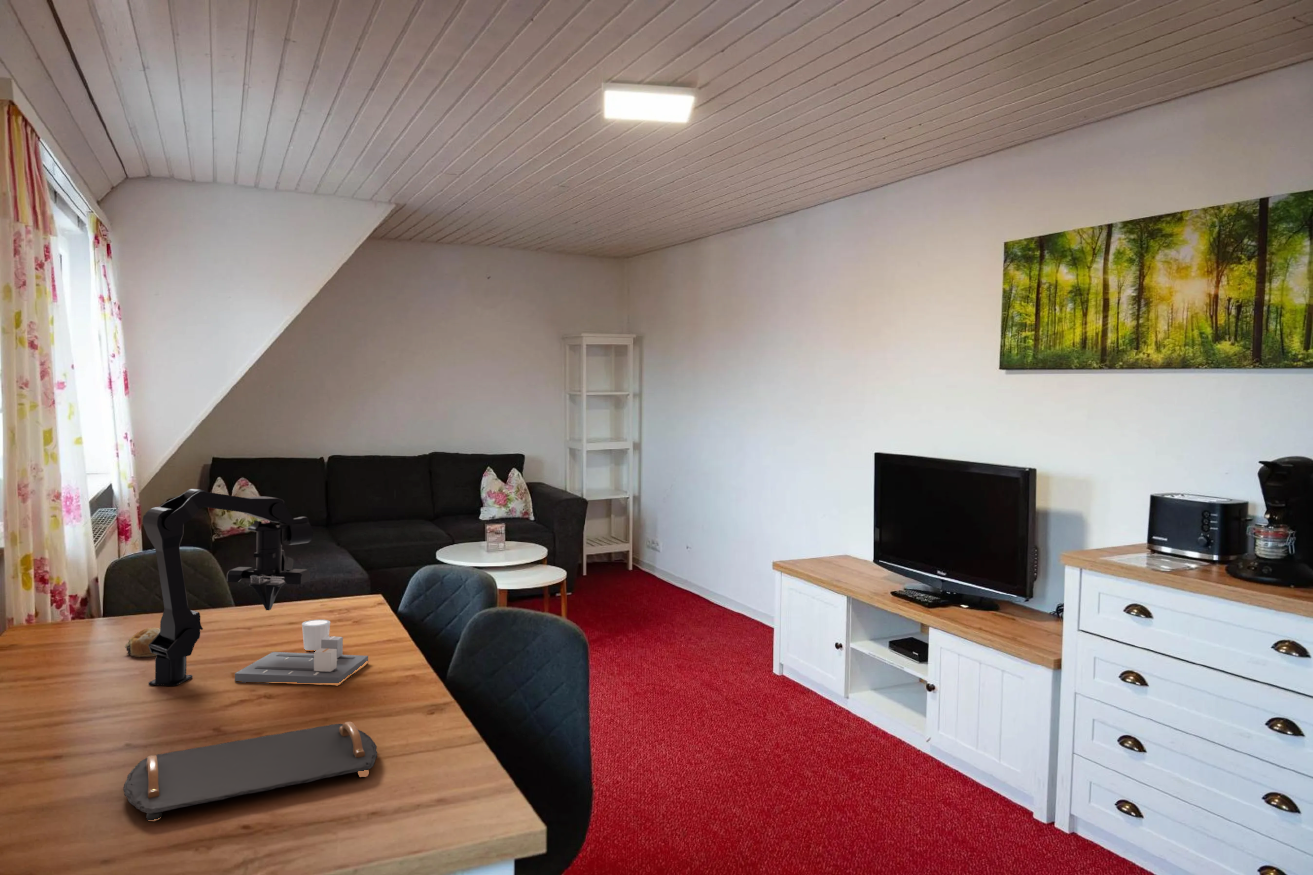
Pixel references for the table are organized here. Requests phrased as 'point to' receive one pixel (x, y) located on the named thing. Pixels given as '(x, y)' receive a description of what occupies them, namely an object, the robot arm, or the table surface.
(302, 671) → the console
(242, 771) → the serving board
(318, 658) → the block
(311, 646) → the white cup
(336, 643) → the fader
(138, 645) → the bread roll
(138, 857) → the table surface
